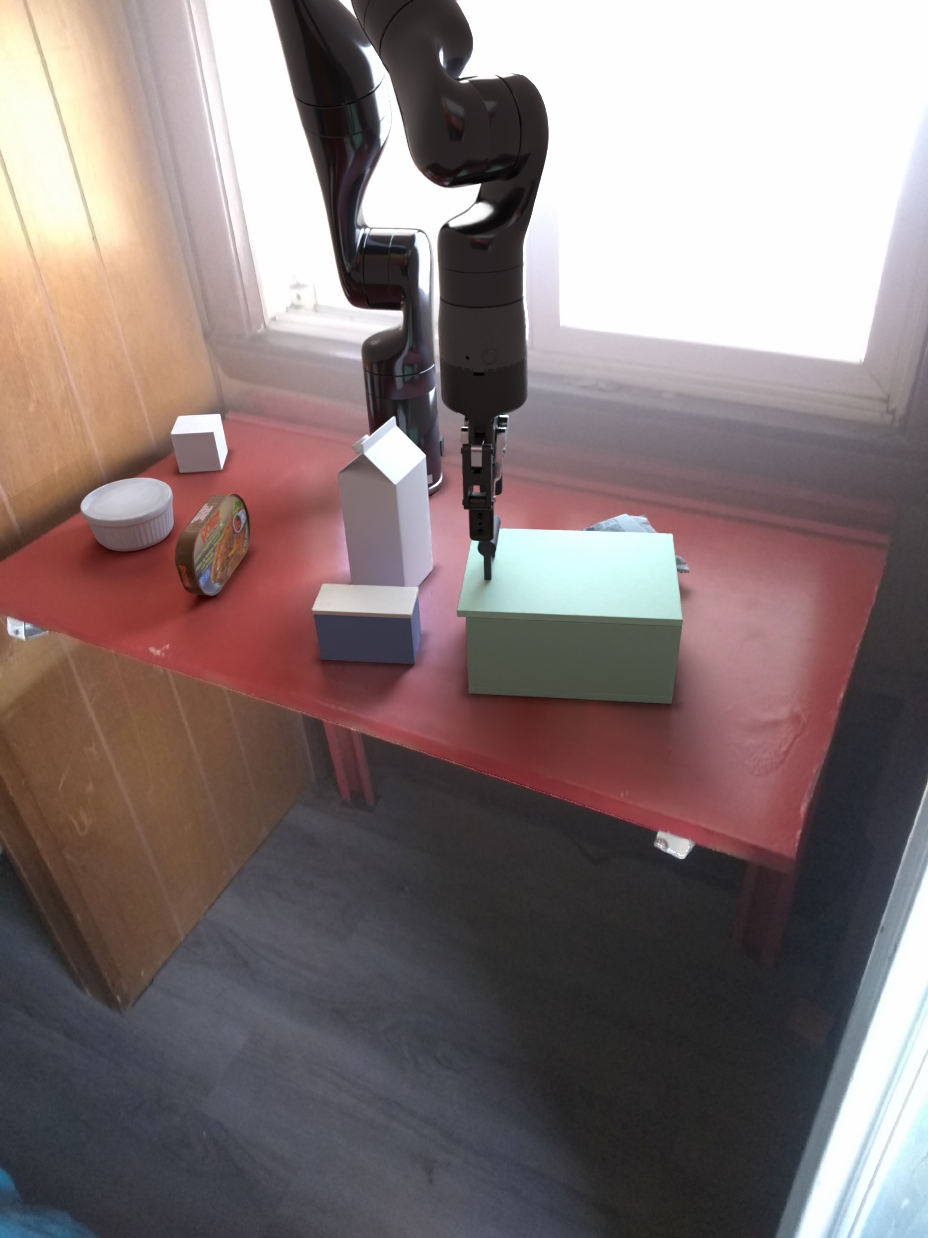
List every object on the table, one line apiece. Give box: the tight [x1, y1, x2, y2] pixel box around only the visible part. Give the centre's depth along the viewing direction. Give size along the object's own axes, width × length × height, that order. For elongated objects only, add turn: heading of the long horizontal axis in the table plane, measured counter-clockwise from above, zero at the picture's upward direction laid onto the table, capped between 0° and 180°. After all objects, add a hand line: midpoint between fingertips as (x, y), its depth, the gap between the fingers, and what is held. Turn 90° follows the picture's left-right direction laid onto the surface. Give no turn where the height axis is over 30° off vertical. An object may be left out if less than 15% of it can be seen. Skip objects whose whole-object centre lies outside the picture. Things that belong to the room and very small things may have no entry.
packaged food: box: [581, 513, 690, 574], centre depth 107 cm, size 9×12×5 cm
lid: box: [456, 514, 684, 627], centre depth 89 cm, size 21×15×5 cm
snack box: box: [311, 583, 422, 665], centre depth 96 cm, size 5×10×6 cm, turn 83°
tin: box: [174, 492, 252, 597], centre depth 108 cm, size 15×3×8 cm, turn 168°
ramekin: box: [79, 477, 175, 552], centre depth 117 cm, size 11×11×5 cm
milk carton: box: [337, 416, 434, 588], centre depth 102 cm, size 7×7×19 cm
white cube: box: [170, 413, 229, 474], centre depth 132 cm, size 6×6×6 cm
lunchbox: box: [465, 617, 683, 705], centre depth 93 cm, size 20×15×9 cm
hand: (486, 515), depth 87 cm, fingers open, 8 cm apart
